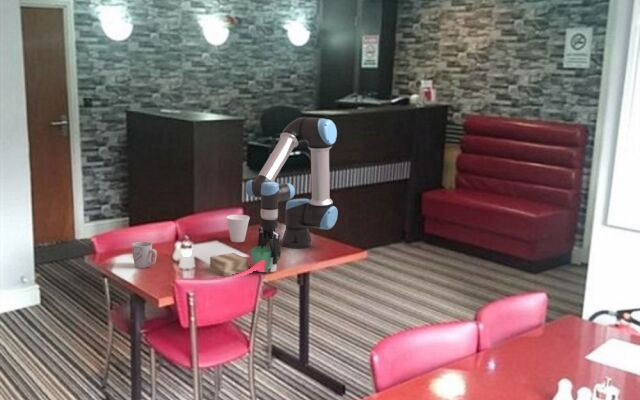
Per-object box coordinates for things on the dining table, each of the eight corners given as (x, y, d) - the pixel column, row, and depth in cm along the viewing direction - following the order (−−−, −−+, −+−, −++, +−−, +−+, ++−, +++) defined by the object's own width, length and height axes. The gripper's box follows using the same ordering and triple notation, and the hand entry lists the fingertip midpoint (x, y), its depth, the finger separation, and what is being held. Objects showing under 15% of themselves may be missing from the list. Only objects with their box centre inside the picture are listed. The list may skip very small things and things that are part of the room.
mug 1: (161, 265, 303) (161, 243, 301) (151, 270, 295) (151, 248, 293) (139, 262, 306) (139, 240, 304) (128, 267, 298) (128, 245, 296)
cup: (247, 244, 343) (248, 220, 341) (224, 243, 344) (224, 219, 341) (250, 238, 355) (251, 215, 353) (227, 237, 355) (228, 214, 353)
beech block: (233, 265, 307) (233, 252, 306) (248, 272, 298) (248, 259, 297) (210, 270, 300) (210, 256, 299) (224, 277, 291) (224, 263, 290)
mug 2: (258, 276, 293) (259, 253, 291) (245, 270, 300) (246, 248, 298) (286, 270, 302) (286, 248, 300) (273, 265, 309) (273, 243, 307)
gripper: (249, 214, 303) (249, 263, 307) (274, 223, 286) (273, 276, 291) (264, 212, 307) (263, 261, 312) (289, 221, 291) (288, 273, 295)
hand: (268, 268), depth 301 cm, fingers closed on mug 2, 8 cm apart
